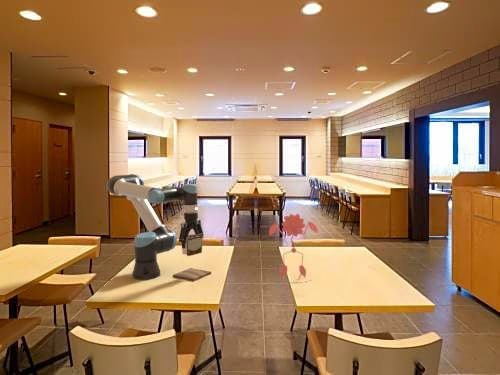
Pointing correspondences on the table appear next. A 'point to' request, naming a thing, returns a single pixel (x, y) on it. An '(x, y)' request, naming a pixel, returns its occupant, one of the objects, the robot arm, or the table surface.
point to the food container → (194, 244)
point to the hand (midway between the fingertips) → (191, 251)
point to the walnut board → (192, 274)
